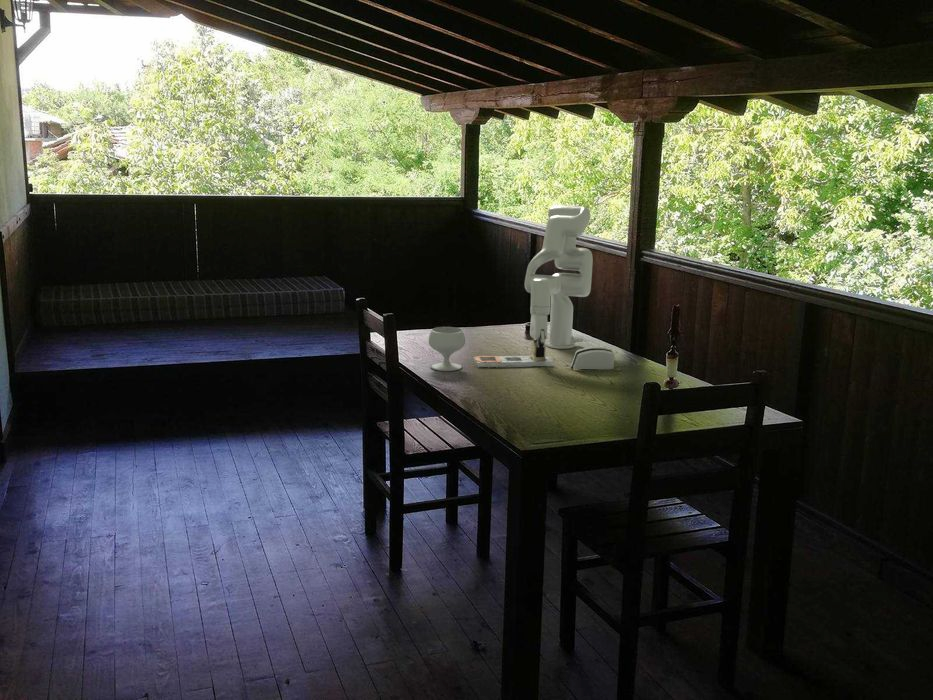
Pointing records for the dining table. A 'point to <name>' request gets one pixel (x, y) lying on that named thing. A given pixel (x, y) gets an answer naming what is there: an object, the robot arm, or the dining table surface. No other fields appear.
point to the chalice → (446, 345)
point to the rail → (511, 361)
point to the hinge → (593, 358)
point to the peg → (535, 353)
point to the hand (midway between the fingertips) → (538, 355)
